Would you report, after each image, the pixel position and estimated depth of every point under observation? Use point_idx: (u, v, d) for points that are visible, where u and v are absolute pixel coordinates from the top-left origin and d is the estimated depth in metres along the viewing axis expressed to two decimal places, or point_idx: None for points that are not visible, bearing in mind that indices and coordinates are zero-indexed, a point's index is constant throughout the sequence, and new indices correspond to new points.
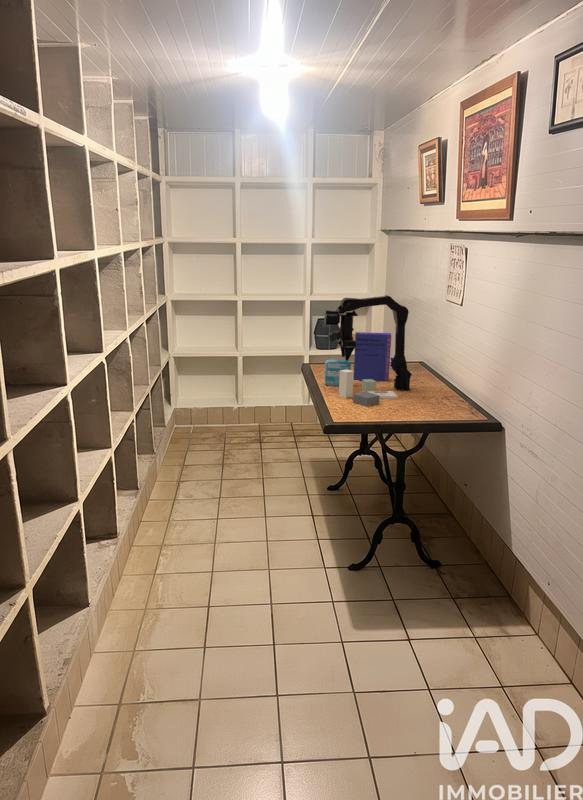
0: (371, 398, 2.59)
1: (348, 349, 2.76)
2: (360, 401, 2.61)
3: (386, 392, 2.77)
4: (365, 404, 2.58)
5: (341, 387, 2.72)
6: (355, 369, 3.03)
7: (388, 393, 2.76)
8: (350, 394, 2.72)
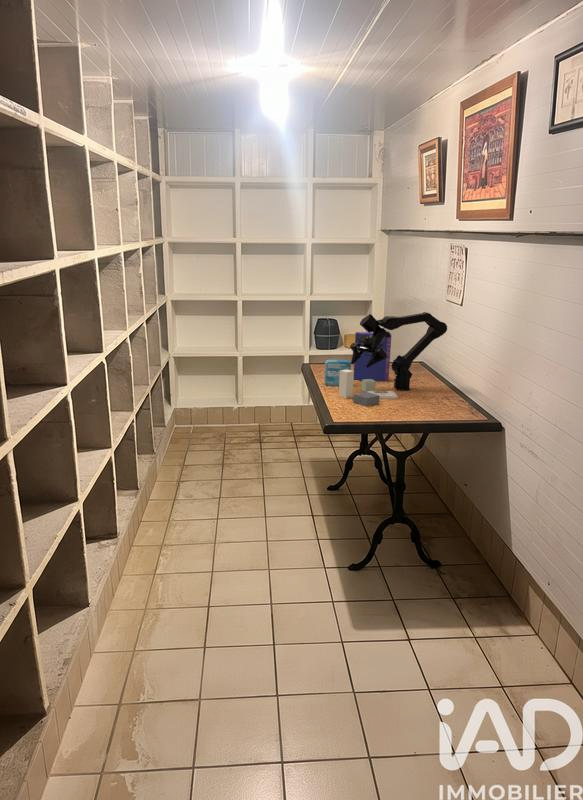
0: (371, 398, 2.59)
1: (374, 358, 2.73)
2: (359, 401, 2.61)
3: (386, 392, 2.77)
4: (365, 404, 2.58)
5: (341, 387, 2.72)
6: (355, 369, 3.03)
7: (388, 393, 2.76)
8: (350, 394, 2.72)
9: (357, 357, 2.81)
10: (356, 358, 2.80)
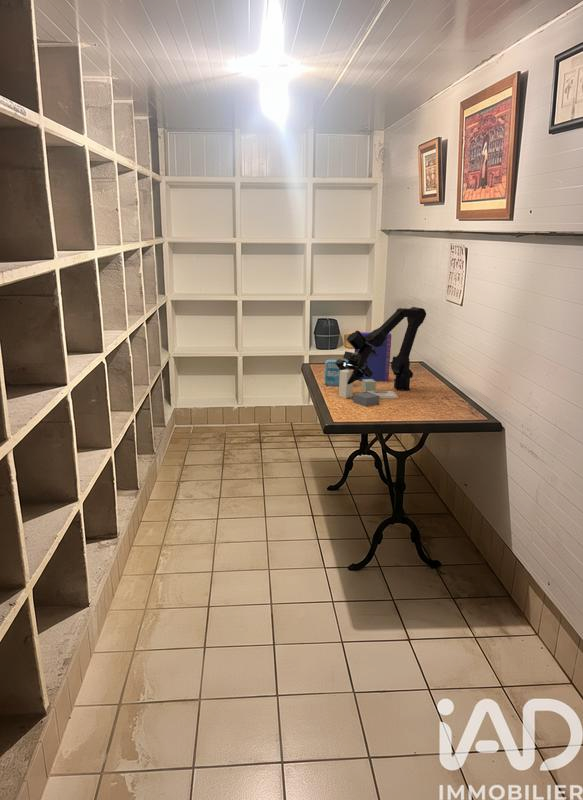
0: (370, 398, 2.59)
1: (356, 375, 2.70)
2: (359, 401, 2.61)
3: (386, 392, 2.77)
4: (364, 404, 2.59)
5: (341, 387, 2.72)
6: None
7: (388, 393, 2.76)
8: (350, 394, 2.72)
9: None
10: None
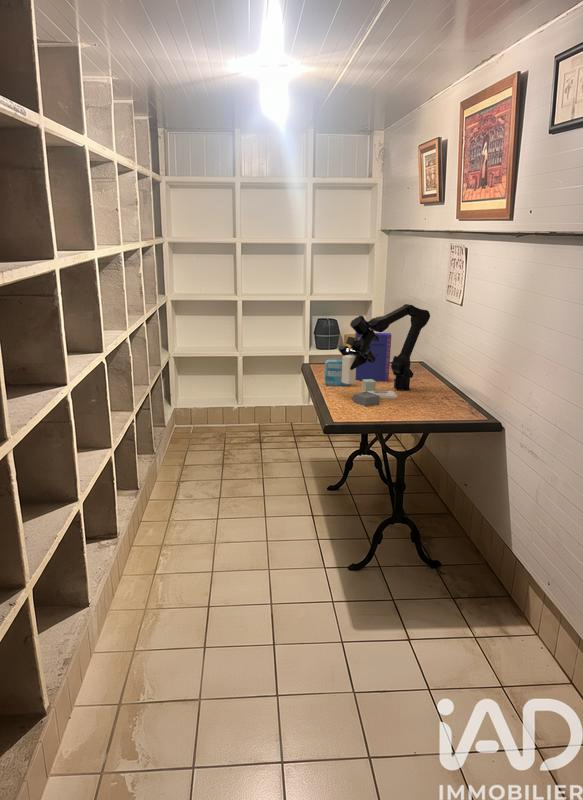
0: (370, 398, 2.59)
1: (359, 360, 2.67)
2: (359, 401, 2.61)
3: (386, 392, 2.77)
4: (364, 404, 2.59)
5: (343, 373, 2.69)
6: None
7: (388, 393, 2.76)
8: (353, 380, 2.69)
9: None
10: None
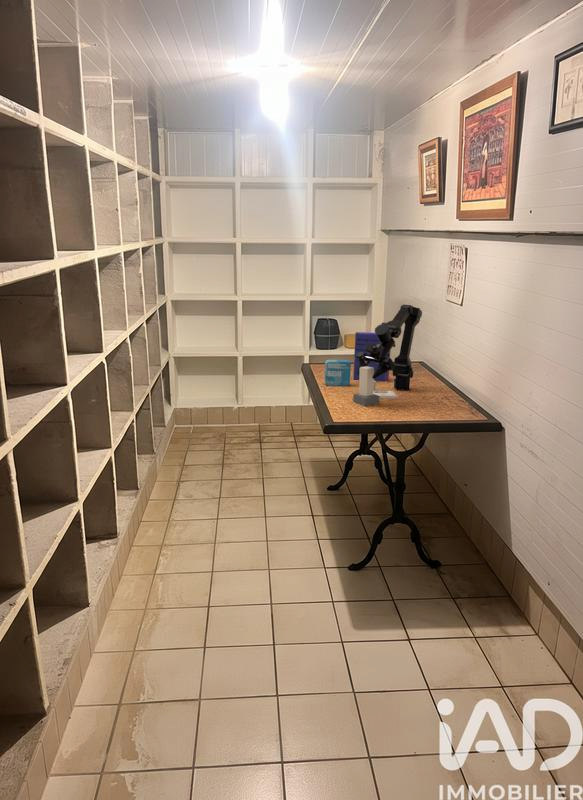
0: (370, 398, 2.59)
1: (381, 369, 2.57)
2: (359, 401, 2.61)
3: (386, 392, 2.77)
4: (363, 404, 2.59)
5: (361, 385, 2.61)
6: (355, 369, 3.03)
7: (388, 393, 2.76)
8: (371, 392, 2.61)
9: None
10: None
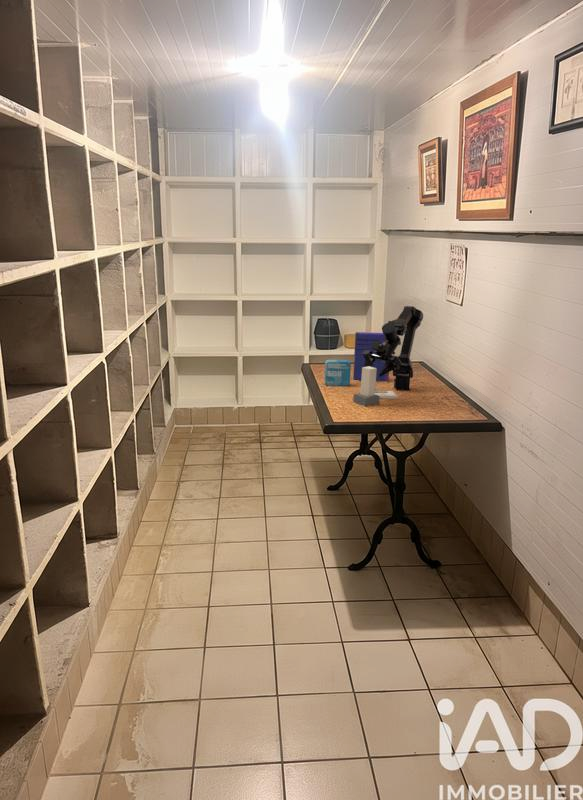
0: (370, 398, 2.59)
1: (388, 367, 2.60)
2: (359, 401, 2.61)
3: (386, 392, 2.77)
4: (363, 404, 2.59)
5: (363, 385, 2.61)
6: (355, 369, 3.03)
7: (388, 393, 2.76)
8: (372, 392, 2.61)
9: (369, 365, 2.68)
10: None
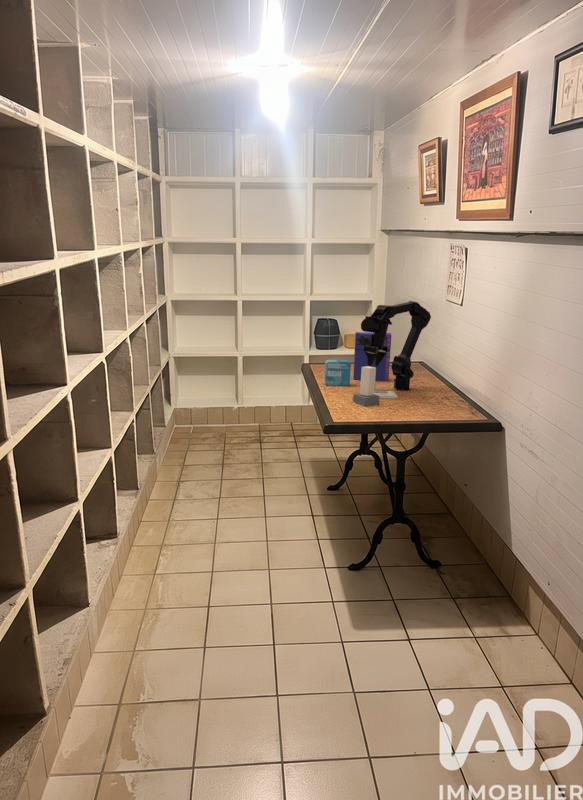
0: (369, 398, 2.59)
1: (371, 355, 2.70)
2: (358, 401, 2.61)
3: (386, 392, 2.77)
4: (363, 404, 2.59)
5: (362, 384, 2.61)
6: (355, 369, 3.03)
7: (388, 393, 2.76)
8: (372, 392, 2.61)
9: (381, 357, 2.79)
10: (379, 358, 2.79)
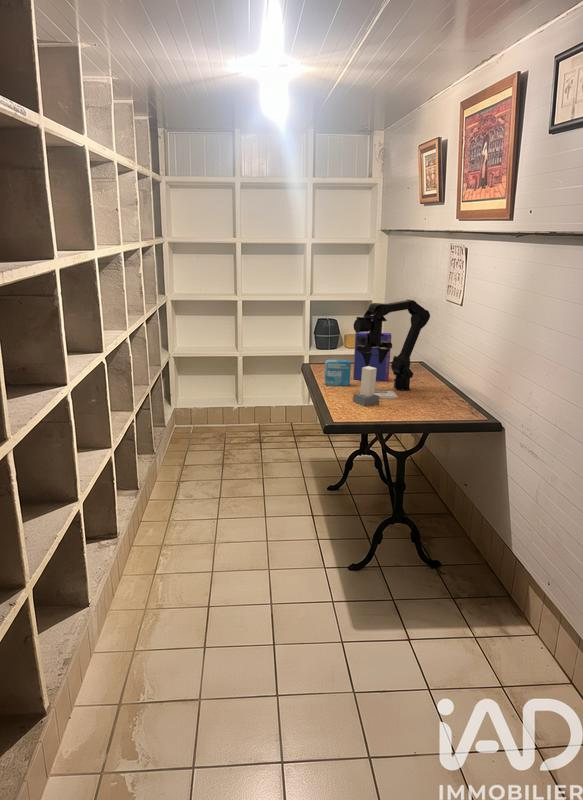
0: (369, 398, 2.59)
1: (366, 354, 2.74)
2: (358, 401, 2.61)
3: (386, 392, 2.77)
4: (363, 404, 2.59)
5: (363, 385, 2.60)
6: (355, 369, 3.03)
7: (388, 393, 2.76)
8: (372, 392, 2.61)
9: (382, 354, 2.80)
10: (382, 355, 2.81)
